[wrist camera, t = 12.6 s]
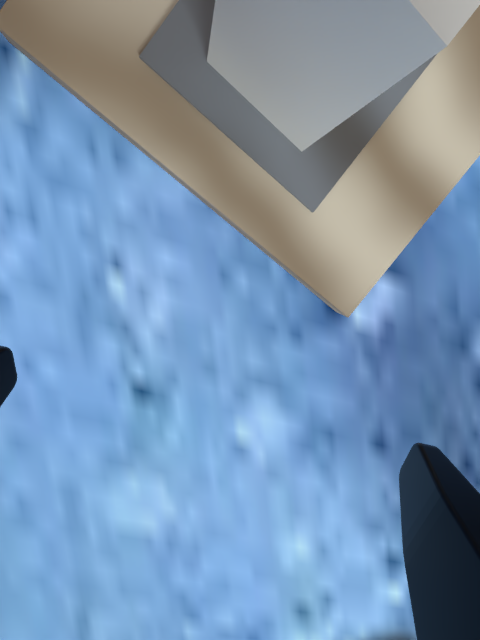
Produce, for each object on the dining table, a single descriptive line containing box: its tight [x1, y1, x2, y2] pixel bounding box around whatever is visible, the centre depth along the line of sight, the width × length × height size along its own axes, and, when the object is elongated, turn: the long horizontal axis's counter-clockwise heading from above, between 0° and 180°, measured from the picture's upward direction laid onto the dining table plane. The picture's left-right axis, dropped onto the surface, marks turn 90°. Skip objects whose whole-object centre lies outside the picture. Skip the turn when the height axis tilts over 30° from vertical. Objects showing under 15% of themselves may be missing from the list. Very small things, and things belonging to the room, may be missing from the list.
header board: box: [0, 0, 480, 317], centre depth 14 cm, size 14×18×5 cm
